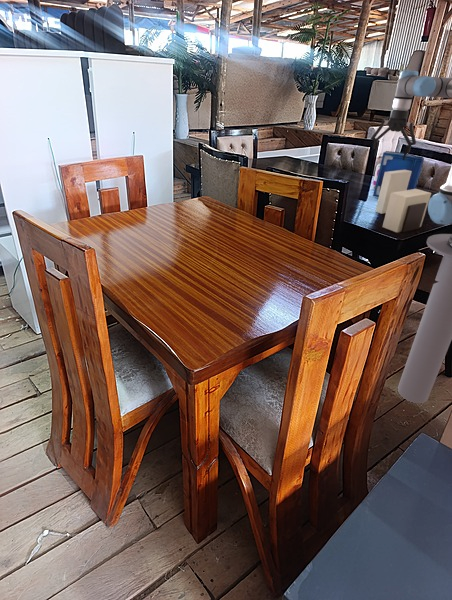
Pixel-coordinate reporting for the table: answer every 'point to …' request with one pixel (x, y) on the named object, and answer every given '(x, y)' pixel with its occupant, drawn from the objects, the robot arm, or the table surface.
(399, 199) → the cream upright block
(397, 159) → the book
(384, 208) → the cream book
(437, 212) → the robot arm
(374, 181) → the supplement can
